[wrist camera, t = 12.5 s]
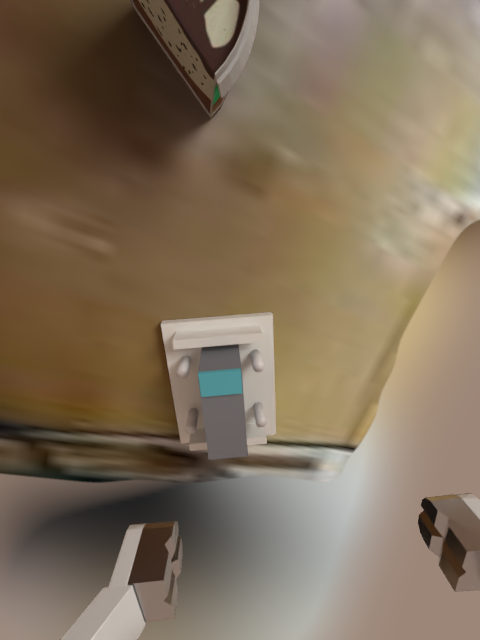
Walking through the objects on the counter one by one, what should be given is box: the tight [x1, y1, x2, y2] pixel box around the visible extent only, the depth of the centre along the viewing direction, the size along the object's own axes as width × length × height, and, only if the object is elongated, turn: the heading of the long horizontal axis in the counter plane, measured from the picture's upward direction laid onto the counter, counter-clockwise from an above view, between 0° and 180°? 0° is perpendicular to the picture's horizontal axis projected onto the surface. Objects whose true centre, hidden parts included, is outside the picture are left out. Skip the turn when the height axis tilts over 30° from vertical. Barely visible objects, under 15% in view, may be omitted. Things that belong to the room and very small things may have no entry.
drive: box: [198, 344, 248, 460], centre depth 30 cm, size 4×10×6 cm, turn 4°
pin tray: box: [161, 312, 276, 451], centre depth 32 cm, size 12×16×4 cm
